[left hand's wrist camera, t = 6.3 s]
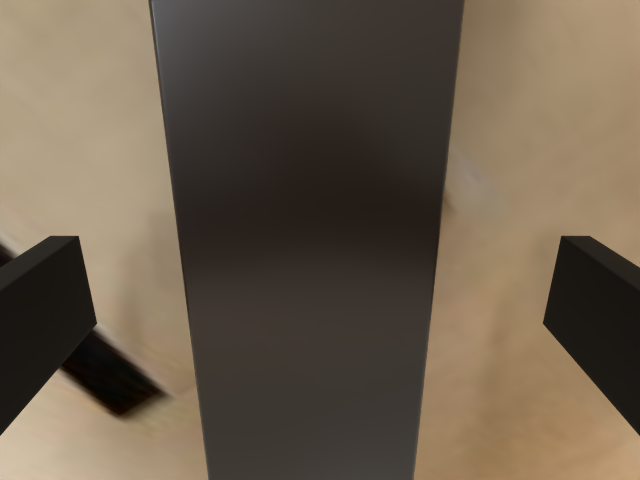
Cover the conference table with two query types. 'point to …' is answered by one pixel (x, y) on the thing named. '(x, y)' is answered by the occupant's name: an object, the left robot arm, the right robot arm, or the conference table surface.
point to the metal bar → (308, 222)
